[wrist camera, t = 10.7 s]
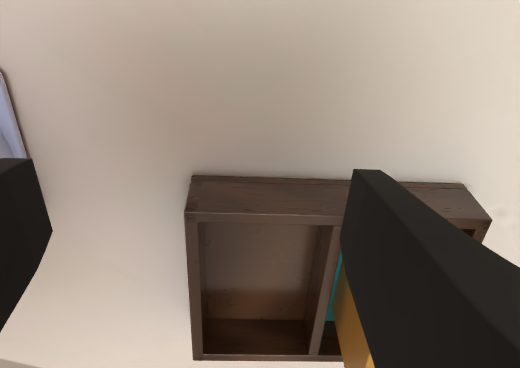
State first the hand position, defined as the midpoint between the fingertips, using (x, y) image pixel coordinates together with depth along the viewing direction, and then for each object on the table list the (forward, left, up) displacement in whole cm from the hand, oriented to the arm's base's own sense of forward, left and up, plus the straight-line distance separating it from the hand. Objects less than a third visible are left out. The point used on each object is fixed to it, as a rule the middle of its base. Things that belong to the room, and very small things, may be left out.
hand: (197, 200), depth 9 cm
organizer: (+6, -11, -9) cm, 15 cm away
